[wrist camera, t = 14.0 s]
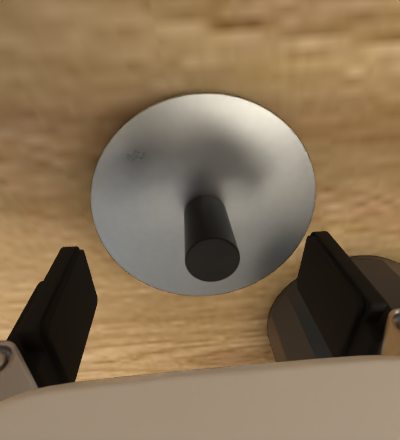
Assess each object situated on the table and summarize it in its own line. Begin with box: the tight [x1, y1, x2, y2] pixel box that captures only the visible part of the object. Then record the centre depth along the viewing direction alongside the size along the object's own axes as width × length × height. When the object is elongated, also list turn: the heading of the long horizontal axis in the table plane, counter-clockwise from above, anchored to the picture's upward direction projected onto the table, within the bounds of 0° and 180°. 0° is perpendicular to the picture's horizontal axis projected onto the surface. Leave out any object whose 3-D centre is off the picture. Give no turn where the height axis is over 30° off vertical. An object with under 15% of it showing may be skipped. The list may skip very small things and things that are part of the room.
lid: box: [91, 92, 316, 296], centre depth 17 cm, size 15×15×6 cm
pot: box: [267, 256, 400, 362], centre depth 22 cm, size 14×14×10 cm
